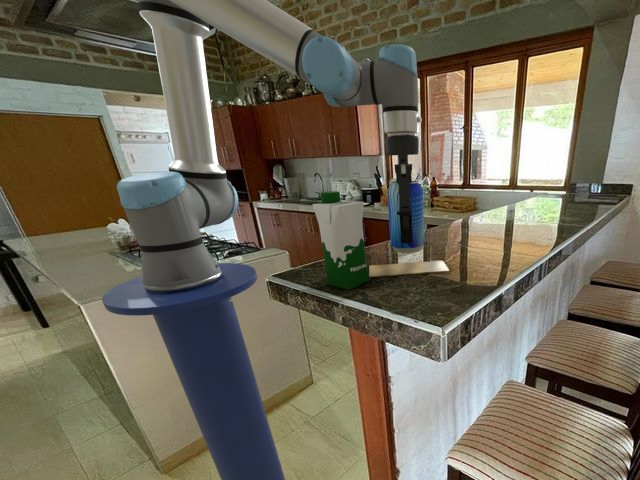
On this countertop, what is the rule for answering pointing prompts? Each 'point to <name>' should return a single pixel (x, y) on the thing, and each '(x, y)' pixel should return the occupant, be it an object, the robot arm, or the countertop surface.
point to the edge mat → (407, 268)
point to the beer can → (417, 218)
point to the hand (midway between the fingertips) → (406, 238)
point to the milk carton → (342, 240)
